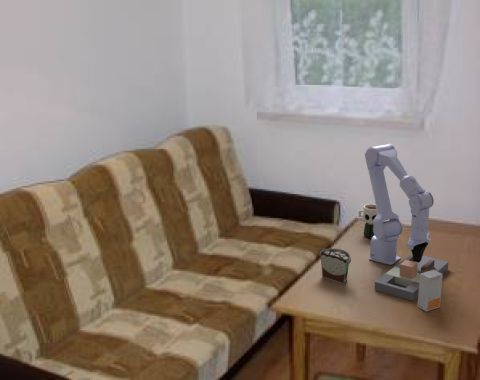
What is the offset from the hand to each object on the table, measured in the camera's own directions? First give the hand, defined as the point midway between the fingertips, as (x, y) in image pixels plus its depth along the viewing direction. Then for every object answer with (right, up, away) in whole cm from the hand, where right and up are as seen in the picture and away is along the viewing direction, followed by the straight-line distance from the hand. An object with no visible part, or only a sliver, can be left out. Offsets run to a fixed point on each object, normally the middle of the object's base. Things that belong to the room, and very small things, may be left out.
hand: (417, 261), depth 225 cm
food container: (-28, -6, +2) cm, 29 cm away
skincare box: (-2, -13, -21) cm, 24 cm away
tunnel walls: (0, -2, +1) cm, 3 cm away
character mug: (-8, +6, +38) cm, 40 cm away
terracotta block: (-4, -4, -5) cm, 8 cm away
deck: (-2, -6, -1) cm, 7 cm away
